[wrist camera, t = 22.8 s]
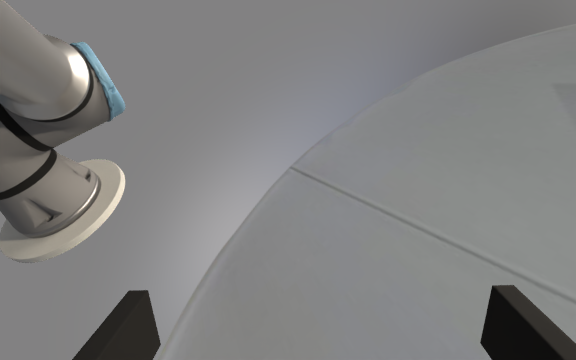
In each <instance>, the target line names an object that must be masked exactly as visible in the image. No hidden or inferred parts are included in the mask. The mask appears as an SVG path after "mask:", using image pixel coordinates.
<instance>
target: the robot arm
mask: <svg viewBox="0 0 576 360" xmlns="http://www.w3.org/2000/svg"><path fill="white" fill-rule="evenodd" d="M124 110H125V103H124V101H123V99H122V97H121V96H120V94H119V92H118V91H117V89H116V88H115V86H114V84H113V83H112V81H111V79H110V77H109V76H108V74H107V72H106V71H105V70H104V68H103V66H102V65H101V63H100V62H99V60H98V58H97V57H96V55H95V54H94V52H93V51H92V50H91V48H90V47H89V46H88V45H87V44H86V43H84V42H79V43H72V44H70V45H69V44H67V43H66V42H64V41H62V40H60V39H58V38H55V37H52V36H48V35H42V34H41V33H39V32H38V31H37V30H36V29H35V28H34V27H33V26H32V25H31V24H29V23H28V22H27V21H26V20H25V19H24V18H23V17H22V16H21V15H19V14H18V13H17V12H16V11H15V10H14V9H13V8H12V7H11V6H9V5H8V4H7V3H6V2H5V1H4V0H0V211H1V212H2V214H3V215H4V216H5V217H6V219H7V220H8V221H9V223H10V224H11V225H12V226H13V228H15V229H16V230H17V231H18V232H19V233H21V234H23V235H25V236H26V237H29V238H42V237H46V236H50V235H52V234H55V233H57V232H59V231H61V230H63V229H65V228H66V227H68V226H69V225H71V224H72V223H74V222H75V221H76V220H78V219H79V218H80V217H81V216H82V215H83V214H84V213H85V212H86V211H87V210H88V209H89V208H90V207H91V206H92V204H93V203H94V202H95V200H96V199H97V197H98V195H99V192H100V190H101V179H100V177H99V176H98V175H97V174H96V173H95V172H94V171H92V170H91V169H89V168H88V167H85V166H83V165H81V164H79V163H77V162H75V161H73V160H70V159H68V158H66V157H64V156H62V155H60V154H58V153H57V152H56V151H55V150H54V149H53V148H54V147H56V146H58V145H60V144H62V143H64V142H66V141H68V140H70V139H72V138H74V137H76V136H78V135H80V134H82V133H84V132H86V131H88V130H90V129H92V128H94V127H96V126H98V125H100V124H102V123H104V122H106V121H111V120H112V119H113V118H114V117H116V116H117V115H119V114H121V113H122V112H123V111H124ZM480 343H481V345H482V346H483V347H484V349H485V350H486V352H487V353H488V355H489V356H490V358H491V359H492V360H576V343H575V342H573V341H572V340H571V339H570V338H569V337H568V336H567V335H566V334H565V333H564V332H563V331H562V330H561V329H560V328H559V327H558V326H556V325H555V324H554V323H553V322H552V321H551V320H550V319H549V318H548V317H547V316H546V315H545V314H544V313H543V312H542V311H541V310H539V309H538V308H537V307H536V306H535V305H534V304H533V303H532V302H531V301H530V300H529V299H528V298H527V297H526V296H525V295H523V294H522V293H521V292H520V291H519V290H518V289H517V288H516V287H515V286H514V285H499V286H492V290H491V294H490V299H489V304H488V309H487V314H486V318H485V323H484V328H483V333H482V338H481V342H480ZM160 345H161V344H160V340H159V335H158V331H157V327H156V322H155V318H154V314H153V310H152V306H151V301H150V297H149V293H148V291H147V290H143V291H128V292H127V294H126V295H125V296H124V297H123V299H122V300H121V301H120V302H119V303H118V305H117V306H116V307H115V308H114V310H113V311H112V312H111V313H110V314H109V316H108V317H107V318H106V319H105V321H104V322H103V323H102V324H101V325H100V327H99V328H98V329H97V330H96V331H95V333H94V334H93V335H92V336H91V338H90V339H89V340H88V341H87V342H86V344H85V345H84V346H83V347H82V348H81V350H80V351H79V352H78V353H77V354H76V356H75V357H74V358H73V359H72V360H153V358H154V356H155V354H156V352H157V350H158V349H159V347H160Z"/></svg>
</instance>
